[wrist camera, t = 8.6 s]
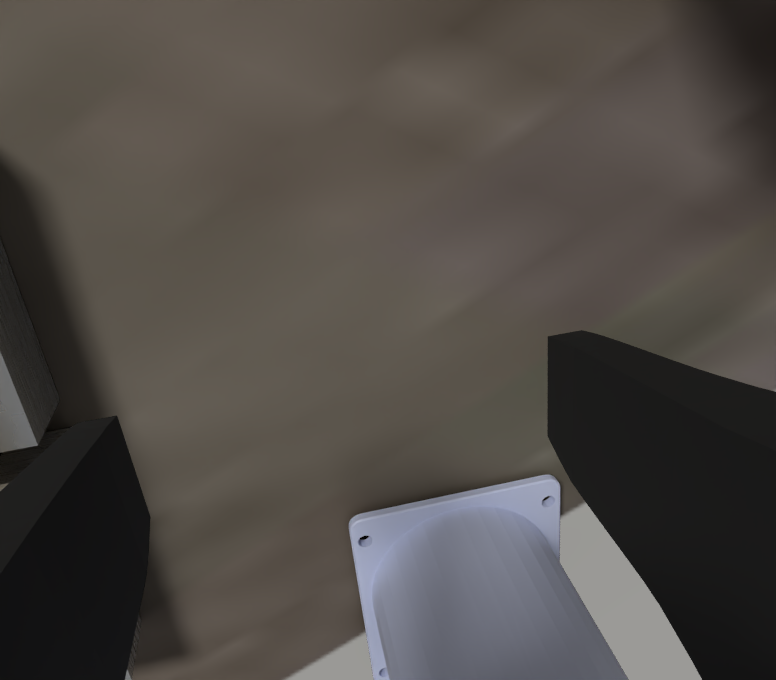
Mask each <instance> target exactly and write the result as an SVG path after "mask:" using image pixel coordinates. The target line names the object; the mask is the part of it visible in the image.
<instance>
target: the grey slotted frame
mask: <svg viewBox="0 0 776 680" xmlns="http://www.w3.org/2000/svg"><path fill="white" fill-rule="evenodd" d="M59 401H60V399H59V396H58V393H57V391H56V388H55V385H54V383H53V380H52V377H51V374H50V372H49V369H48V366H47V364H46V361H45V358H44V355H43V353H42V350H41V347H40V345H39V342H38V339H37V336H36V334H35V331H34V328H33V326H32V323H31V320H30V317H29V315H28V312H27V309H26V307H25V304H24V301H23V299H22V296H21V293H20V290H19V288H18V285H17V282H16V280H15V277H14V274H13V271H12V269H11V266H10V263H9V261H8V258H7V255H6V252H5V250H4V247H3V244H2V242H1V239H0V453H1V452H3V454H2V456H1V457H0V491H1V490H2V489H3V488H4V487H5V486H7V485H8V484H9V483H10V482H11V481H12V480H13V479H14V478H15V477H16V476H18V475H19V474H20V473H21V472H22V471H23V470H24V469H25V468H26V467H27V466H28V465H30V464H31V463H32V462H33V461H34V460H35V459H36V458H37V457H38V456H39V455H40V454H41V453H43V452H44V451H45V450H46V449H47V448H48V447H49V446H50V445H51V444H52V443H54V442H55V441H56V440H57V439H58V438H59V437H60V436H61V435H63V434H64V433H65V432H66V431H67V430H69V429H70V428H64V429H59V430H53V431H48V432H45V430H46V428H47V426H48V424H49V422H50V420H51V417H52V415H53V413H54V411H55V409H56V407H57V405H58V403H59ZM140 627H141V618H140V616H139V615H138V620H137V625H136V630H135V634H134V639H133V644H132V649H131V653H130V658H129V663H128V668H127V672H126V677H125V680H132V675H133V669H134V663H135V657H136V651H137V645H138V639H139V633H140Z"/></svg>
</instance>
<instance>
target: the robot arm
mask: <svg viewBox="0 0 776 680" xmlns="http://www.w3.org/2000/svg"><path fill="white" fill-rule="evenodd" d="M548 438H549V440H550V442H551V444H552V446H553V448H554V450H555V452H556V454H557V456H558V458H559V460H560V462H561V463H562V465H563V467H564V469H565V471H566V473H567V474H568V476H569V478H570V480H571V482H572V483H573V485H574V486H575V487H576V489H577V490H578V492H579V493H580V495H581V496H582V497H583V499H584V500H585V502H586V503H587V504H588V506H589V507H590V508H591V510H592V511H593V513H594V514H595V515H596V517H597V518H598V519H599V521H600V522H601V524H602V525H603V526H604V528H605V529H606V530H607V532H608V533H609V534H610V536H611V537H612V539H613V540H614V541H615V543H616V544H617V545H618V547H619V548H620V550H621V551H622V552H623V554H624V555H625V556H626V558H627V559H628V560H629V562H630V563H631V564H632V566H633V567H634V568H635V570H636V571H637V573H638V574H639V575H640V577H641V578H642V580H643V581H644V582H645V584H646V585H647V587H648V588H649V590H650V591H651V593H652V594H653V596H654V597H655V599H656V600H657V602H658V603H659V605H660V606H661V608H662V610H663V612H664V613H665V615H666V617H667V618H668V620H669V622H670V624H671V625H672V627H673V629H674V630H675V632H676V634H677V636H678V637H679V639H680V641H681V642H682V644H683V646H684V648H685V650H686V651H687V653H688V654H689V656H690V658H691V660H692V661H693V663H694V665H695V667H696V669H697V671H698V673H699V674H700V676H701V678H702V680H776V392H774V391H770V390H766V389H762V388H759V387H755V386H751V385H748V384H745V383H741V382H738V381H735V380H731V379H728V378H725V377H721V376H718V375H715V374H712V373H709V372H705V371H702V370H699V369H696V368H693V367H690V366H687V365H685V364H682V363H679V362H676V361H673V360H670V359H667V358H664V357H662V356H659V355H656V354H653V353H651V352H648V351H645V350H642V349H639V348H637V347H634V346H631V345H628V344H625V343H623V342H620V341H617V340H614V339H611V338H608V337H605V336H601V335H598V334H595V333H591V332H587V331H582V330H581V331H576V332H570V333H565V334H559V335H554V336H548ZM547 496H550V497H549V498H548V499H547V500H545V501H542V500H543V499H544V498H545V497H547ZM349 533H350V539H351V545H352V551H353V557H354V563H355V569H356V575H357V581H358V587H359V593H360V600H361V606H362V612H363V618H364V624H365V630H366V636H367V642H368V648H369V654H370V660H371V666H372V672H373V678H374V680H628V678H627V676H626V675H625V673H624V671H623V669H622V668H621V666H620V665H619V663H618V661H617V659H616V658H615V656H614V654H613V652H612V651H611V649H610V647H609V646H608V644H607V642H606V641H605V639H604V637H603V636H602V634H601V632H600V630H599V629H598V627H597V625H596V624H595V622H594V620H593V618H592V617H591V615H590V613H589V612H588V610H587V608H586V607H585V605H584V603H583V601H582V600H581V598H580V596H579V595H578V593H577V591H576V590H575V588H574V586H573V585H572V583H571V581H570V579H569V578H568V576H567V574H566V573H565V571H564V569H563V568H562V566H561V564H560V562H559V558H560V557H559V556H560V555H559V554H560V553H559V551H560V484H559V482H558V481H557V479H556V478H555V477H554V476H552V475H541V476H536V477H532V478H527V479H522V480H517V481H513V482H508V483H503V484H498V485H494V486H489V487H484V488H480V489H475V490H470V491H465V492H461V493H456V494H451V495H446V496H442V497H437V498H432V499H427V500H423V501H418V502H413V503H409V504H404V505H399V506H394V507H390V508H385V509H380V510H375V511H371V512H366V513H361V514H358V515H356V516H354V517H353V518H352V519H351V520H350V522H349ZM149 534H150V514H149V511H148V508H147V505H146V502H145V499H144V496H143V493H142V490H141V487H140V484H139V481H138V478H137V475H136V472H135V469H134V466H133V463H132V460H131V457H130V454H129V451H128V448H127V445H126V442H125V439H124V435H123V432H122V429H121V426H120V423H119V420H118V417H117V416H113V417H107V418H102V419H96V420H91V421H85V422H80V423H77V424H75V425H74V426H73V427H71V428H70V429H69V430H67V431H66V432H65V433H64V434H63V435H61V436H60V437H59V438H58V439H57V440H56V441H55V442H54V443H52V444H51V445H50V446H49V447H48V448H47V449H46V450H45V451H44V452H43V453H41V454H40V455H39V456H38V457H37V458H36V459H35V460H34V461H33V462H32V463H31V464H30V465H28V466H27V467H26V468H25V469H24V470H23V471H22V472H21V473H20V474H19V475H18V476H16V477H15V478H14V479H13V480H12V481H11V482H10V483H9V484H8V485H7V486H5V487H4V488H3V489H2V490H1V491H0V680H125V677H126V672H127V668H128V663H129V658H130V653H131V649H132V644H133V639H134V634H135V630H136V625H137V620H138V615H139V610H140V605H141V600H142V596H143V591H144V586H145V580H146V575H147V566H148V552H149ZM363 536H369V537H368V538H367V539H365V540H360V538H361V537H363Z"/></svg>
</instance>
